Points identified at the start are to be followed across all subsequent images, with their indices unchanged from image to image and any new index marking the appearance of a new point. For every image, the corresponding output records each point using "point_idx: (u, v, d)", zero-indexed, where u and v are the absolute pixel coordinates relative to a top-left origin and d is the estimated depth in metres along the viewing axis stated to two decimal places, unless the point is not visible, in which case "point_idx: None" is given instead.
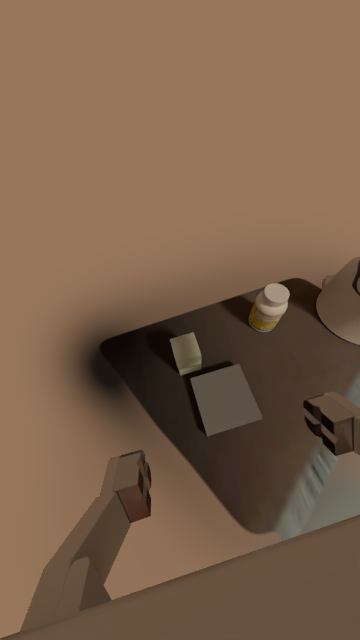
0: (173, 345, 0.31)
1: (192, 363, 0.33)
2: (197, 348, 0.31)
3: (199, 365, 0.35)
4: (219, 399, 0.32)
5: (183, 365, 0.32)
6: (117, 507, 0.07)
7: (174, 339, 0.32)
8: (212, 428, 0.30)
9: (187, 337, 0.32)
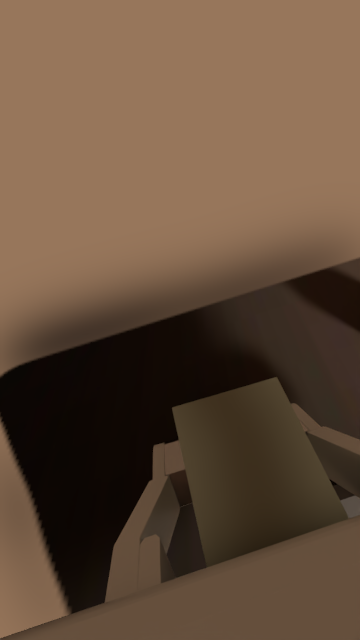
0: (189, 446, 0.06)
1: None
2: (317, 472, 0.06)
3: None
4: None
5: None
6: (170, 490, 0.07)
7: (193, 410, 0.07)
8: None
9: (254, 401, 0.07)
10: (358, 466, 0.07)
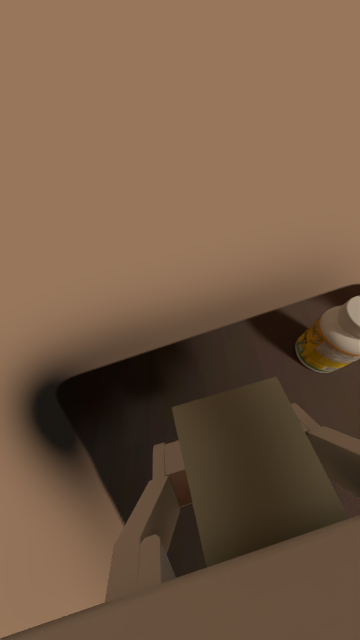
0: (189, 446, 0.06)
1: None
2: (316, 472, 0.06)
3: None
4: None
5: None
6: (170, 490, 0.07)
7: (193, 410, 0.07)
8: None
9: (254, 401, 0.07)
10: (359, 466, 0.07)
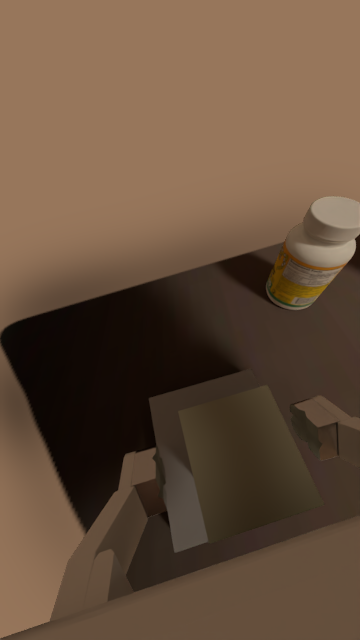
0: (193, 444, 0.08)
1: None
2: (298, 465, 0.07)
3: None
4: None
5: None
6: (135, 501, 0.07)
7: (196, 413, 0.08)
8: (190, 527, 0.12)
9: (248, 406, 0.08)
10: None
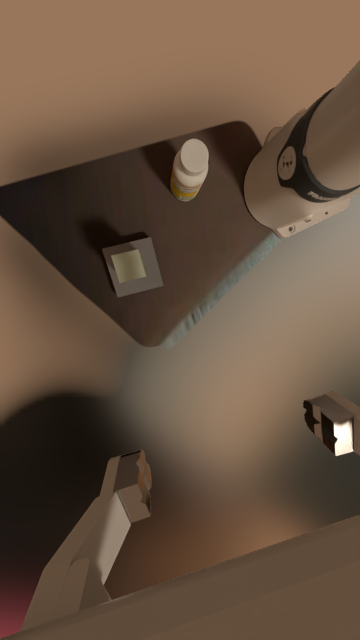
0: (115, 264, 0.29)
1: None
2: (142, 269, 0.29)
3: None
4: None
5: None
6: (117, 507, 0.07)
7: (116, 256, 0.29)
8: (122, 291, 0.38)
9: (131, 255, 0.29)
10: None
